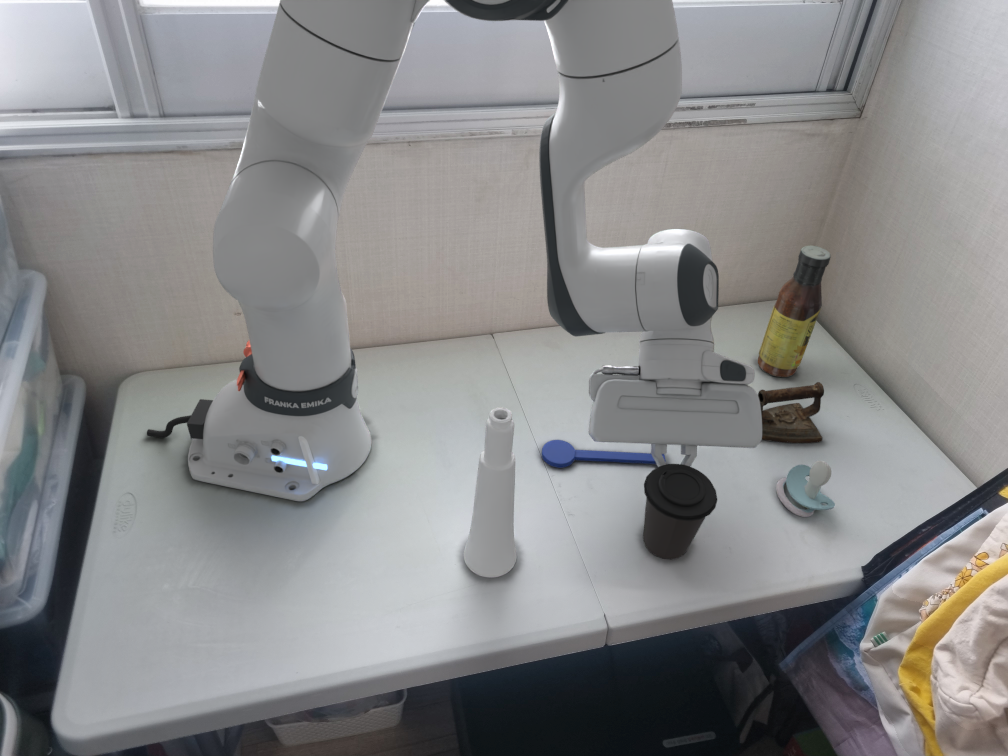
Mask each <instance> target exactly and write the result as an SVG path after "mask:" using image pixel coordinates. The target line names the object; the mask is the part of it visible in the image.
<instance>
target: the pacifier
mask: <svg viewBox="0 0 1008 756" xmlns="http://www.w3.org/2000/svg"><path fill="white" fill-rule="evenodd" d="M806 477H808V479H807V478H806ZM831 477H832V468H831V465H829V463H828V462H826V461H825V460H816V461H815V462H814V463H812V465H811V466H810V465H807V464H797V465H795V466H793V467H792V468H791V469H790V470H788V473H787V474H786V477H781V478H780V479H778V480H777V482H776V486H775V489H776V494H777V497H778V499H779V501H780V502H781V504H782V505H783V506H784V507H785V508H786V509H787V510H788V511H790V512H791V513H792V514H794V515H796V516H799V517H802V518H808V517H811V516H812V515H814V513H815V511H816V510H817V511H828V510H829V511H830V510H833V509H834V508H835V506H836V503H835V502H834V500H833V499H832V498H830V497H829V496H827V495H825V494H823V493H822V492H821V489H822V488H821V487H822V486H824V485H826V484H828V482H829V481H830V480H831ZM785 486H786V489H787V492H788V493H789V496H790V497H791V498H792V499H793V500H794V501H795V502H796V503H797V504H799V506H801V507H803V508H805V509H802V508H799V507H798V506H796V505H795V504H793V502H791V501H790V500H789V498H788V497H787V495H786V493H785V489H784V487H785Z"/></svg>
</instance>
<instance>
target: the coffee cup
mask: <svg viewBox="0 0 1008 756" xmlns="http://www.w3.org/2000/svg"><path fill="white" fill-rule="evenodd" d="M643 493H644V495H645V497H646V499H645V508H644V509H645V510H644V518H643V519H644V521H643V531H642V541H643V544H644V546H645V548H646V549H647V550H648V551H649V553H651V554H652V555H654V556H655V557H658V558H660V559H664V560H676V559H679V558H681V557H683V556H684V555H685V554H686V553H687V551H688V550H689V548H690V546H691V544H692V542H693V541H694V539H695V537H696V535H697V533H698V531H699V530H700V528H701V526H702V524H703V522H704V521H705V520H706V517H708V516H710V515H711V514H712V512H714V510H715V509H716V508H717V507H716V506H717V502H718V496H717V495H718V494H717V490H716V488H715V487H714V485H713V482H712V481H711V480H710V479H709V478H708V476H706V475H705V474H704V472H701V471H700V470H699V469H697V468H694V467H693V466H687V465H682V464H681V463H666V465H662V466H660V467H658V466H657V467H655V468H654V469H653V470H651V471H650V473H648V474H647V475H646V477H645V480H644V483H643Z"/></svg>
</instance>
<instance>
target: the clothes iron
mask: <svg viewBox="0 0 1008 756" xmlns="http://www.w3.org/2000/svg"><path fill="white" fill-rule="evenodd" d="M757 394H758V397H759V400H760V407H761V415H762V440H763V441H767V442H773V443H784V444H814V443H815V444H816V443H822V442H823V436H822V434H821V432H820V431H819V429H818V428H817V426H816V424H815V423H814V422H813V419H811V417H813V416H815V415H817V414H818V413H819V412H820V410H821V403H822V398H823V396H824V394H825V387H824V385H823V383H822V382H820V381H816V382H815V383H814V384H810V385H803V386H793V387H785V388H778V389H769V390H765V389H760V390H759V391H758V392H757ZM808 399H813V402H812V403H811V404H810V405H807V406H806V407H803V406H802V404H801V403H800V402H793V403H787V404H782V405H777V406H773V407H770V408H766V409H764V407H765V406H767V405H768V404H775V403H782V402H783V403H784V402H789V401H790V402H791V401H798V400H808ZM762 440H761V441H762Z"/></svg>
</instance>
